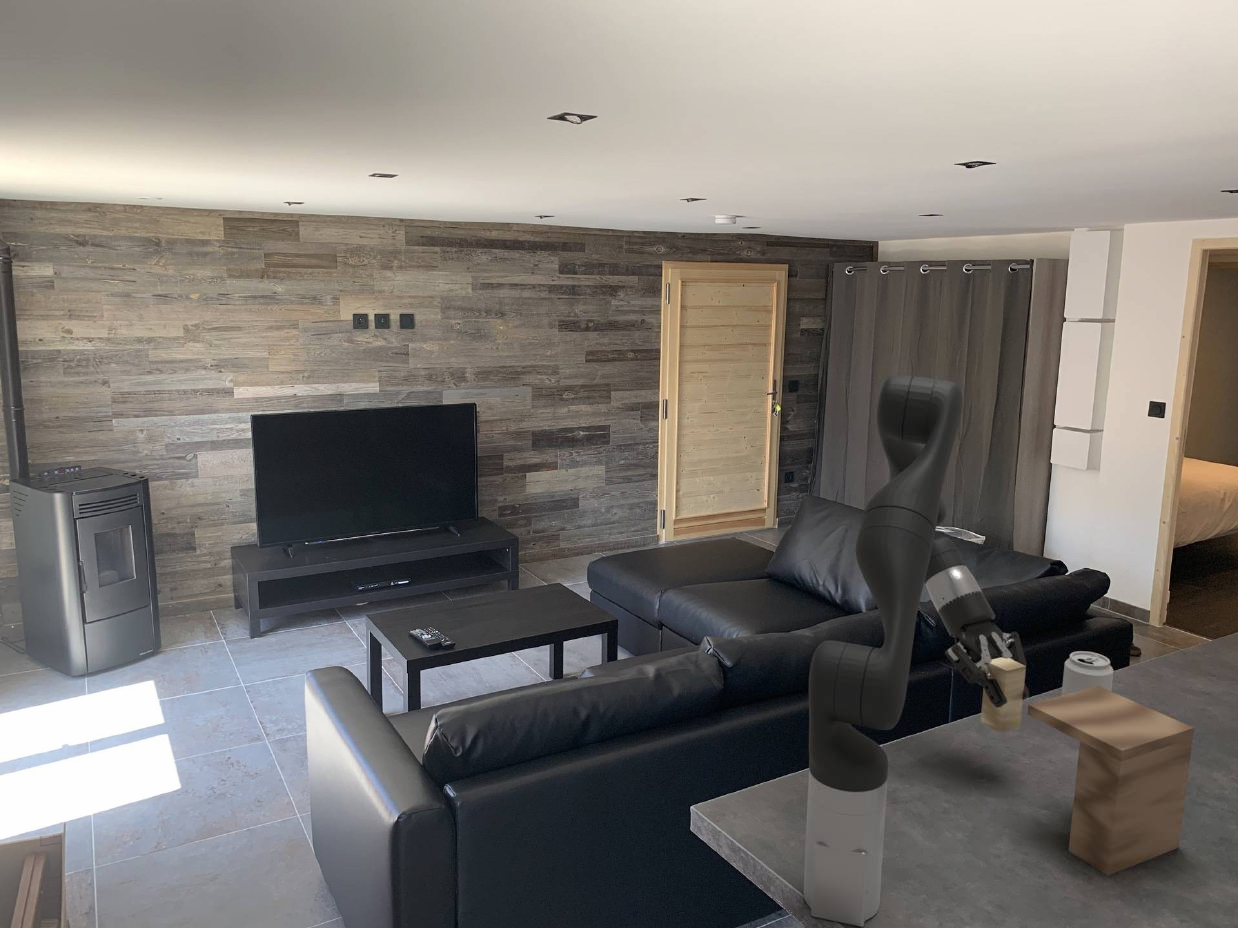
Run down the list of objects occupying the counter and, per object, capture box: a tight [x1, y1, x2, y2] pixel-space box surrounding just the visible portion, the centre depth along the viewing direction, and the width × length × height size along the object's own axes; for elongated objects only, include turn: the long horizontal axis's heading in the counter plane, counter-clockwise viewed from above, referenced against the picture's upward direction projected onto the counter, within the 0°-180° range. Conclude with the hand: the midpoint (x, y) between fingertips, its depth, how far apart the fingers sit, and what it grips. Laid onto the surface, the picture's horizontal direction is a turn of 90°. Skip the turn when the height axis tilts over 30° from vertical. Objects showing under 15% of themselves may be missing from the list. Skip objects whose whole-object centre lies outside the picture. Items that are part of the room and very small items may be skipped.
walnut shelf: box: [1027, 686, 1195, 876], centre depth 133 cm, size 14×14×18 cm
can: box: [1061, 650, 1114, 696], centre depth 166 cm, size 8×8×12 cm
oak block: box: [980, 657, 1027, 734], centre depth 147 cm, size 4×4×10 cm
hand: (1013, 701), depth 146 cm, fingers closed on oak block, 4 cm apart
